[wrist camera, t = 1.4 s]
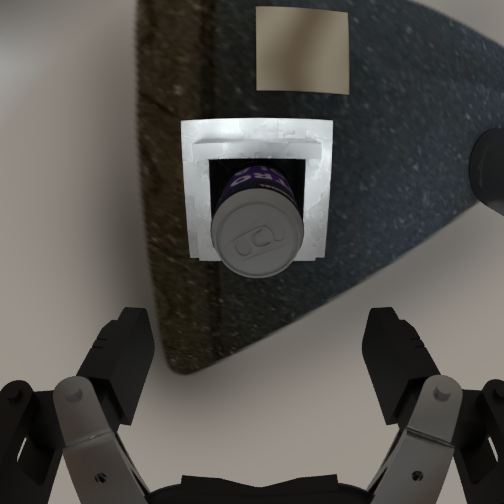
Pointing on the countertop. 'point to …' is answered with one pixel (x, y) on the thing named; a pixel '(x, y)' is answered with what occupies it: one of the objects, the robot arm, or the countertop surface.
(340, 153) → the countertop surface
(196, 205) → the sleeve
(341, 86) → the birch pad
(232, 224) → the beverage can
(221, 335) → the countertop surface
